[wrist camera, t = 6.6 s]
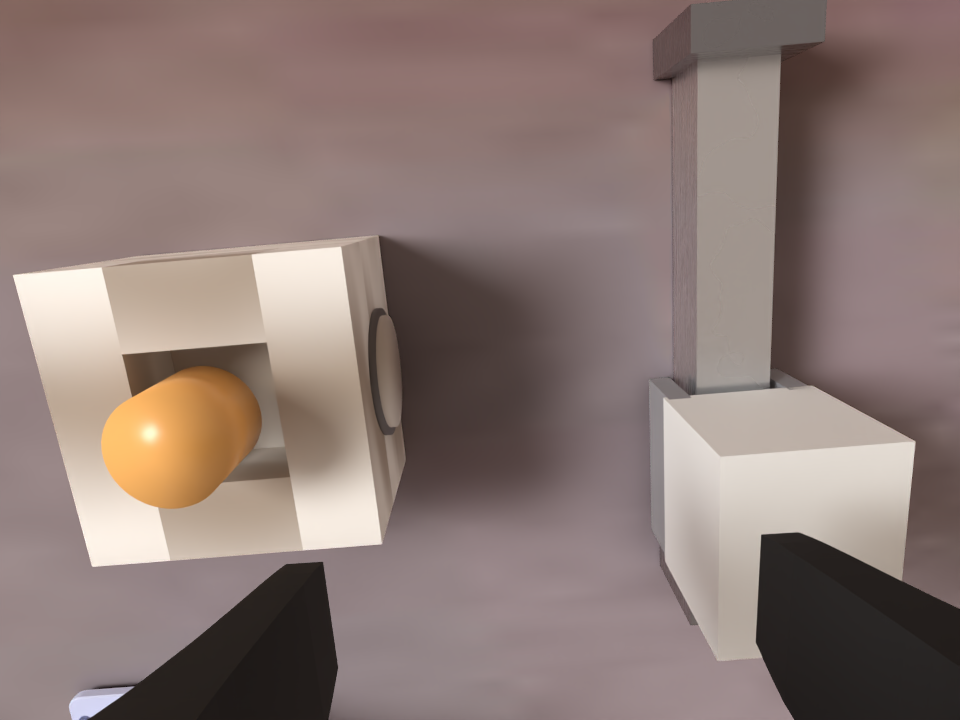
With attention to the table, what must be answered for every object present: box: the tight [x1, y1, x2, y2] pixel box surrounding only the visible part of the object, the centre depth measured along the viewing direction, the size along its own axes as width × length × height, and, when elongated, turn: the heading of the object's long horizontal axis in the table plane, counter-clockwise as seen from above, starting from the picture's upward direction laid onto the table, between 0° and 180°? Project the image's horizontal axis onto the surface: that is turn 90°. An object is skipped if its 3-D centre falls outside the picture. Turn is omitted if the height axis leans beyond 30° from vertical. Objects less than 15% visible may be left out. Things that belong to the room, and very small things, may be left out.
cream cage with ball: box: [13, 235, 406, 567], centre depth 16 cm, size 7×7×5 cm
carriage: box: [649, 369, 915, 661], centre depth 16 cm, size 5×4×6 cm
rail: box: [653, 0, 827, 625], centre depth 17 cm, size 16×3×3 cm, turn 5°
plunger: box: [101, 366, 262, 509], centre depth 13 cm, size 2×2×2 cm
